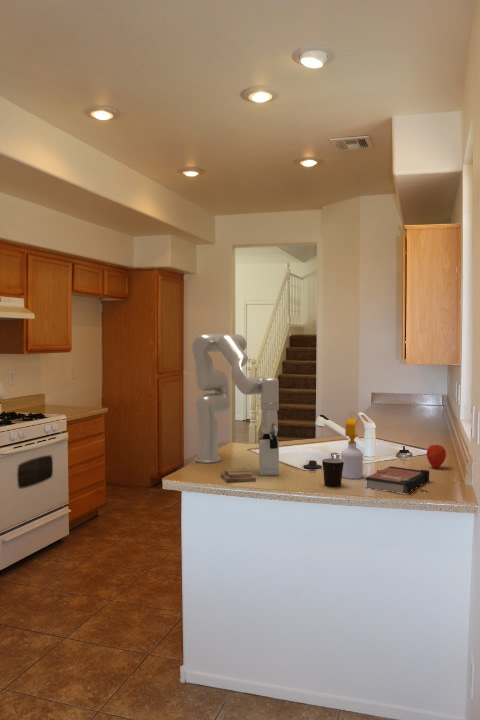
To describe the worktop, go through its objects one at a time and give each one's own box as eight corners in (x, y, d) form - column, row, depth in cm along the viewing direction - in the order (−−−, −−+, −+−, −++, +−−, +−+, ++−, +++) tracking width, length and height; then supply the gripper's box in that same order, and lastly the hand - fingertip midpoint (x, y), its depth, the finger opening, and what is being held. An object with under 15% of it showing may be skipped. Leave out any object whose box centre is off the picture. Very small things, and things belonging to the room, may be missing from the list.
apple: (438, 471, 264) (439, 446, 264) (422, 467, 271) (422, 444, 270) (449, 468, 270) (449, 444, 269) (432, 465, 276) (433, 442, 276)
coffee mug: (326, 481, 243) (327, 457, 242) (346, 484, 238) (347, 459, 238) (315, 487, 233) (315, 462, 232) (335, 490, 228) (336, 465, 228)
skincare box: (277, 472, 258) (278, 438, 258) (279, 475, 252) (279, 441, 252) (258, 472, 258) (258, 438, 257) (259, 475, 252) (260, 441, 251)
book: (388, 476, 255) (388, 465, 255) (429, 482, 245) (429, 470, 245) (363, 488, 234) (363, 476, 234) (406, 496, 224) (407, 482, 223)
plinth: (220, 476, 251) (220, 469, 251) (247, 474, 254) (248, 467, 254) (227, 482, 239) (227, 475, 239) (255, 481, 242) (255, 474, 242)
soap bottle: (365, 475, 254) (366, 418, 253) (358, 480, 246) (359, 421, 245) (345, 473, 258) (346, 417, 257) (337, 477, 250) (338, 419, 249)
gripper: (255, 405, 261) (256, 443, 262) (267, 409, 245) (267, 450, 245) (272, 404, 263) (272, 443, 264) (284, 408, 246) (285, 449, 247)
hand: (270, 446), depth 254 cm, fingers open, 9 cm apart
